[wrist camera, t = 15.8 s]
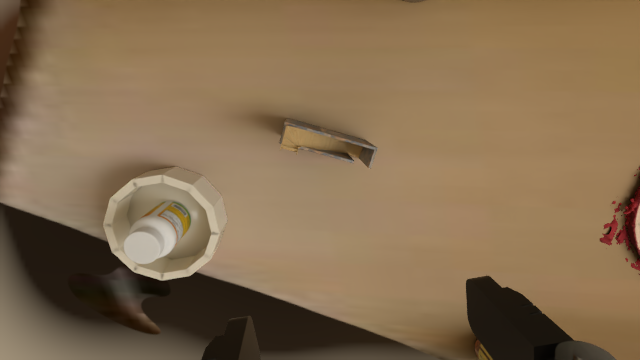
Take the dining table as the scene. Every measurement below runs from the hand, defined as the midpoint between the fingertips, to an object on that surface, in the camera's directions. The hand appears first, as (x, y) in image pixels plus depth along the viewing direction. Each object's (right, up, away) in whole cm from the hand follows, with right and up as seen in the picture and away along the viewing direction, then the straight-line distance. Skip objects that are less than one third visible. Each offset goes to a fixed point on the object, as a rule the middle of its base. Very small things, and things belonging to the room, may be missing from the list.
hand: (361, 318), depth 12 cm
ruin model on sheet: (-1, +11, +35) cm, 37 cm away
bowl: (-22, 0, +36) cm, 42 cm away
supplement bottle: (-22, 0, +35) cm, 41 cm away
